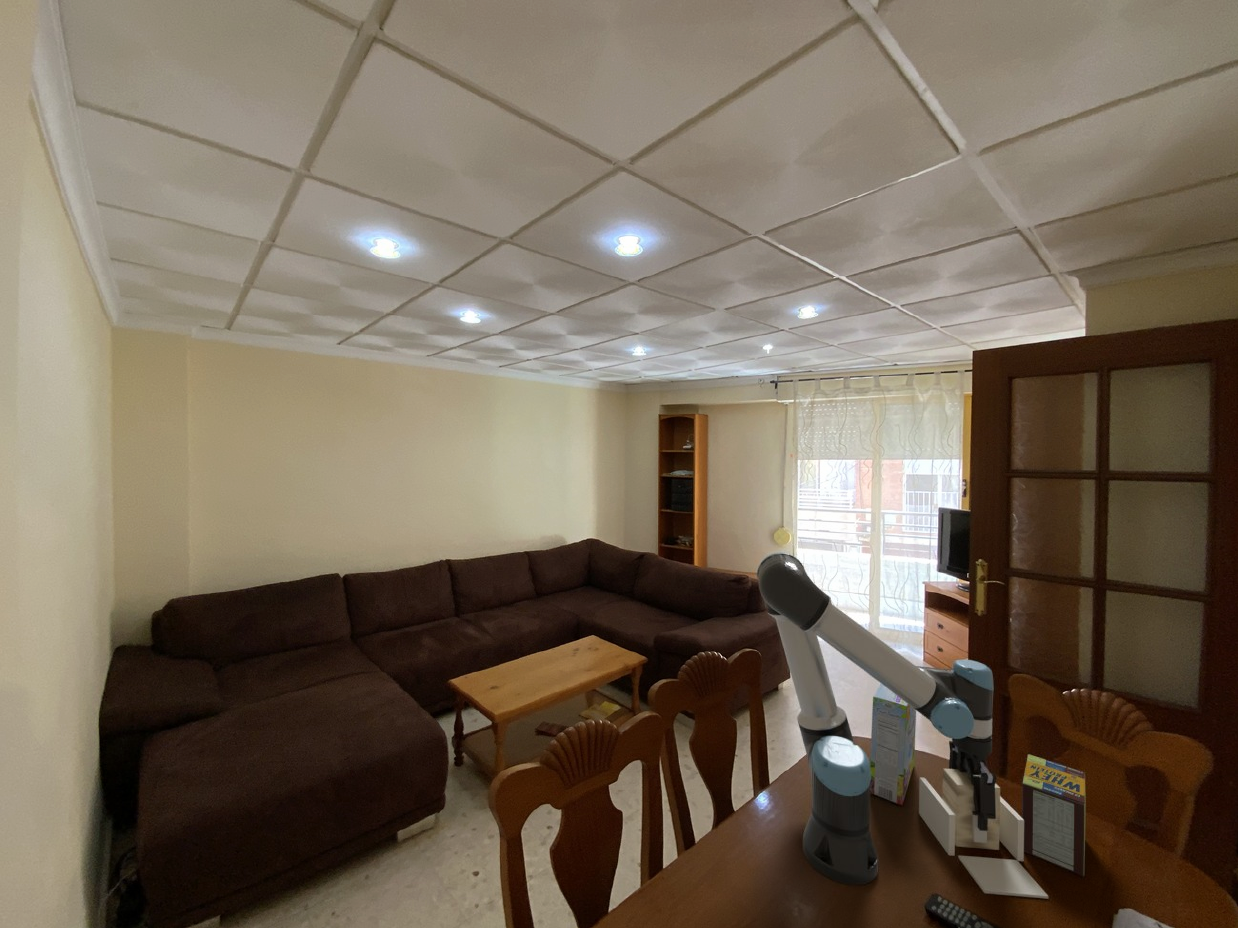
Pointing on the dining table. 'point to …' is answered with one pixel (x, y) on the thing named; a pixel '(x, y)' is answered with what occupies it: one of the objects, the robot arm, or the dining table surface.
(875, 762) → the snack box
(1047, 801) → the protein box
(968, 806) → the block
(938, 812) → the shelf bay
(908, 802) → the dining table surface
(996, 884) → the felt mat
